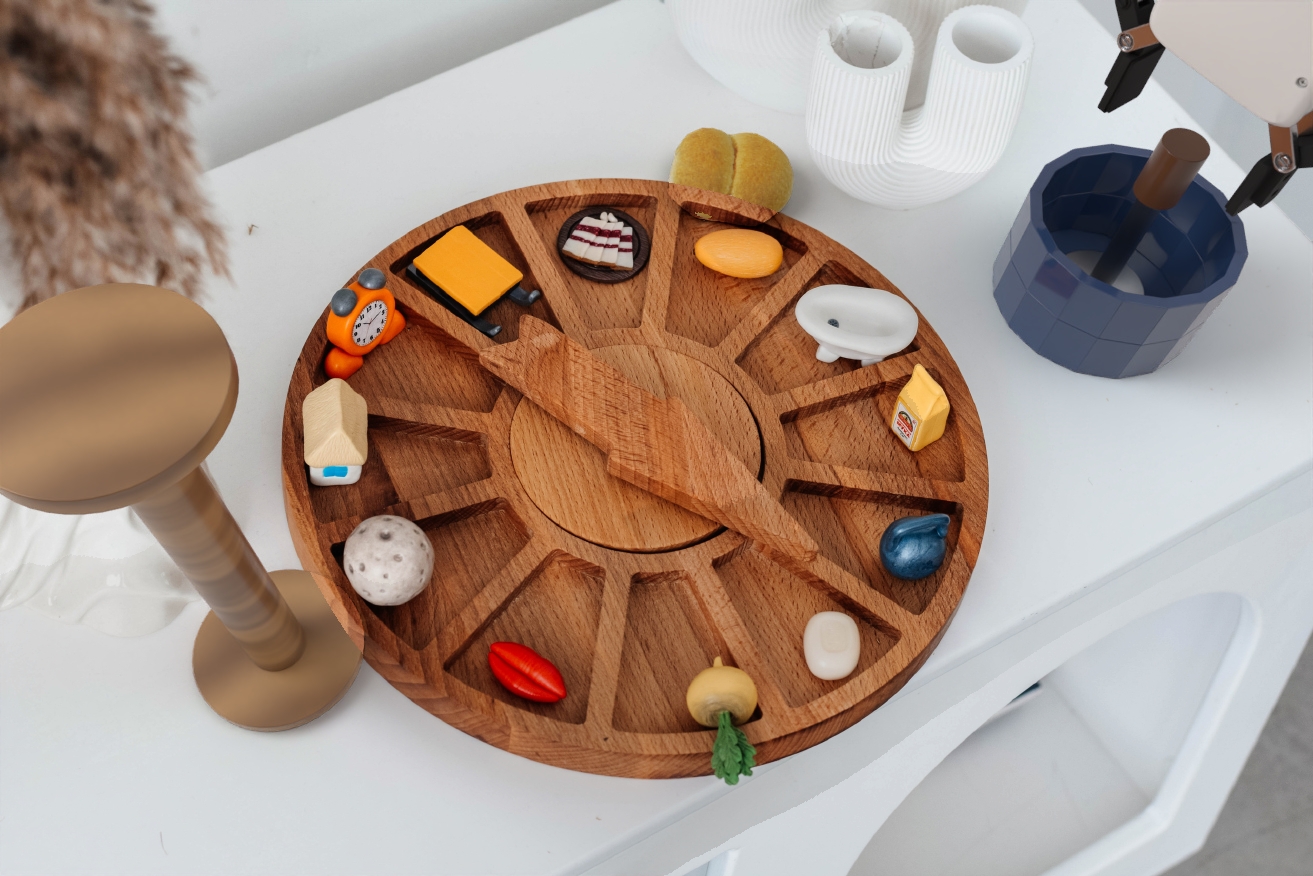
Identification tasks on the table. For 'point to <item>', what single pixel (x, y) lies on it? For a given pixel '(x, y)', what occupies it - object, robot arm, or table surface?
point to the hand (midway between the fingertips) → (1178, 151)
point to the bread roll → (734, 167)
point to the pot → (1166, 260)
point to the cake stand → (165, 483)
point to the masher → (1147, 206)
